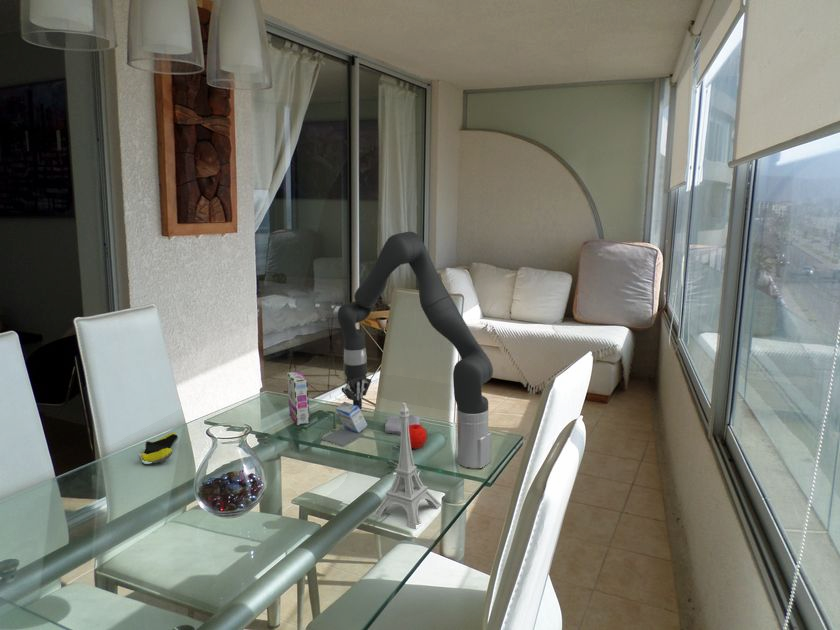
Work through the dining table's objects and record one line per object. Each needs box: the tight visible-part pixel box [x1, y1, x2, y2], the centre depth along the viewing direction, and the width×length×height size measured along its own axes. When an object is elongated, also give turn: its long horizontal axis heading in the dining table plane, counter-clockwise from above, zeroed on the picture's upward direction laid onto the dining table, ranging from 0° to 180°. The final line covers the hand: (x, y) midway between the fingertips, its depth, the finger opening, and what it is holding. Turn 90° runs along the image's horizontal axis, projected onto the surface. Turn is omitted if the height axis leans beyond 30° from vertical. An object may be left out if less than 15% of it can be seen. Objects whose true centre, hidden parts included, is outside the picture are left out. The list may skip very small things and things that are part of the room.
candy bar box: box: [286, 370, 311, 426], centre depth 231 cm, size 11×5×16 cm, turn 25°
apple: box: [409, 424, 428, 450], centre depth 208 cm, size 8×8×7 cm
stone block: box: [384, 414, 421, 436], centre depth 221 cm, size 12×5×10 cm
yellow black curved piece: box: [139, 432, 179, 464], centre depth 205 cm, size 15×6×10 cm
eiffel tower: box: [371, 402, 443, 530], centre depth 168 cm, size 13×13×30 cm
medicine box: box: [335, 401, 368, 434], centre depth 221 cm, size 8×4×9 cm, turn 43°
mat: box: [320, 427, 364, 447], centre depth 217 cm, size 10×10×1 cm
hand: (357, 409), depth 222 cm, fingers closed
